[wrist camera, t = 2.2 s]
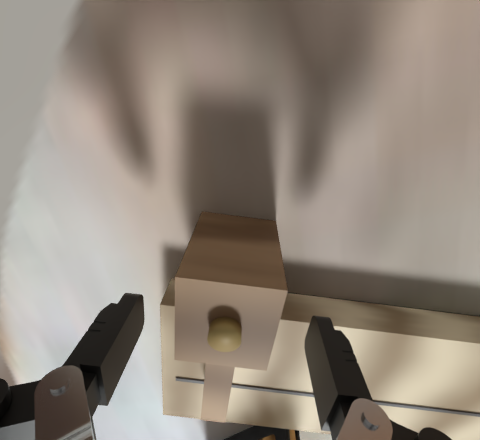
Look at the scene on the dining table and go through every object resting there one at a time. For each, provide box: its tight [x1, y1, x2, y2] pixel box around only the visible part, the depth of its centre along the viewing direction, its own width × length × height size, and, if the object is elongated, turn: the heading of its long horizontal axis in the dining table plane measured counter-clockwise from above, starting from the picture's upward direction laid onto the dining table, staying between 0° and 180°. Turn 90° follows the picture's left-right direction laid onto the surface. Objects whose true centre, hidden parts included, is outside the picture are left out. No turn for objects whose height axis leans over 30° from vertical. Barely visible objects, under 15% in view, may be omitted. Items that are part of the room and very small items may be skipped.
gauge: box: [174, 212, 288, 423], centre depth 15 cm, size 12×4×7 cm, turn 173°
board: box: [160, 279, 480, 440], centre depth 20 cm, size 28×12×2 cm, turn 83°
